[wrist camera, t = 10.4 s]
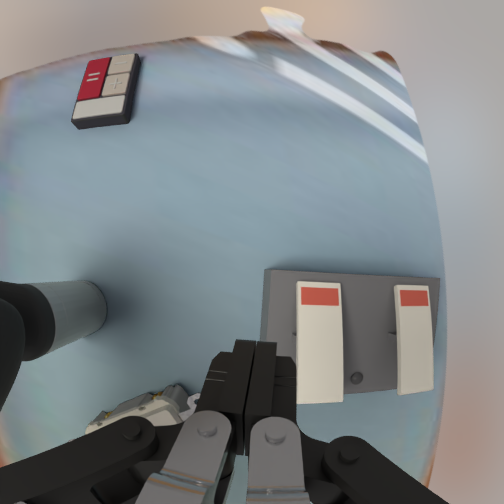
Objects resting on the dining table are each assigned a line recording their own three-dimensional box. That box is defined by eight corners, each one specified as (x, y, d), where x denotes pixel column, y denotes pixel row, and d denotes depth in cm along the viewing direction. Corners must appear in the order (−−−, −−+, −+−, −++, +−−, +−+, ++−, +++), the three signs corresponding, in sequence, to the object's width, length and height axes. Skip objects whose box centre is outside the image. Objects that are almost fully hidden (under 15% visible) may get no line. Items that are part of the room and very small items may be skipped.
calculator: (137, 50, 47) (123, 112, 46) (142, 63, 51) (129, 124, 50) (87, 58, 46) (68, 120, 45) (93, 70, 51) (77, 130, 49)
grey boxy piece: (239, 418, 48) (238, 449, 38) (115, 461, 47) (97, 489, 37) (204, 362, 48) (194, 386, 38) (81, 415, 47) (56, 438, 37)
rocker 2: (397, 394, 37) (401, 395, 36) (393, 286, 43) (397, 284, 42) (429, 389, 37) (433, 389, 36) (424, 287, 43) (428, 285, 42)
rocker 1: (295, 403, 36) (297, 403, 35) (296, 283, 42) (298, 280, 41) (340, 401, 36) (343, 401, 35) (337, 285, 42) (340, 282, 41)
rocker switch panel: (257, 377, 49) (263, 402, 39) (264, 269, 50) (273, 269, 40) (404, 372, 51) (434, 388, 41) (414, 277, 52) (448, 278, 42)
